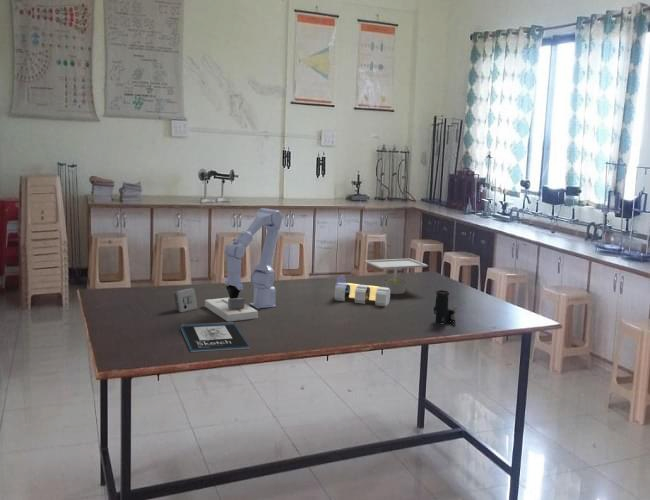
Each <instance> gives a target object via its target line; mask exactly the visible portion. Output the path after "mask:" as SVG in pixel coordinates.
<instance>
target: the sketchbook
mask: <svg viewBox="0 0 650 500" xmlns="http://www.w3.org/2000/svg"><path fill="white" fill-rule="evenodd" d="M180 330H181V332H182V334H183V337H184V339H185V341H186V344H187V346H188V348H189V350H190V352H191V353H194V352H195V353H199V352H214V351H216V352H217V351H228V350H229V351H231V350H232V351H233V350H246V349H250V348H251V346H250V344H249V343H248V341H247V340H246V339H245V337H244V336H243V334H242V333H241V331H240V329H239V328H238V327H237V325H236V324H235V322H233V321H229V322H221V323H219V322H217V323H216V322H215V323H214V322H211V323H210V322H209V323H193V324H186V323H182V325H180Z"/></svg>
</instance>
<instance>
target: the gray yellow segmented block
mask: <svg viewBox="0 0 650 500" xmlns="http://www.w3.org/2000/svg"><path fill="white" fill-rule="evenodd" d="M345 277H346V275H345V274H343V275H340V276H339V277H336V280H337V281H336V284H335V287H334V300H335V301H340V302H346V298H350V299H354V303H355V304H356V303H357V304H363V305H365V304H366V301H367V300H368V301H374V303H375V306H380V307H387V305H389V303H390V299H391V293H390V291H391V290H390V288H386V287H385V286H377V285H367V284H359V283H351V282H346V280H347V278H345Z"/></svg>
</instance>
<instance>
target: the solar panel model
mask: <svg viewBox="0 0 650 500" xmlns="http://www.w3.org/2000/svg"><path fill="white" fill-rule="evenodd" d="M363 262H364V263H366V264H368V265H371V267H372V266H373V267H375V268H378V269H380V270H390V269H391V270H392V269H393V278H387V279H385V280H384V287H386V288H390V290H391V291H390V295H391V294H393V295H400V294H401V295H402V294H404V293H405V292H406V281H405V280H404V279H400V278H399V279H398V278H397V273H398V269H411V268H426V267H427V268H428V267H429V265H428V264H426V263H423V262H421V261H419V260H415V259H413V258H393V259H392V258H389V259H387V258H386V259H366V260H363Z"/></svg>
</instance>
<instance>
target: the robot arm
mask: <svg viewBox="0 0 650 500" xmlns="http://www.w3.org/2000/svg"><path fill="white" fill-rule="evenodd" d="M282 220H283V215H282V213H281V210H278V209H271V208H264V207H261V208H259V209H258V211H256V213H255V218H254V219H253V221H252V222H251V224H250V225H249V227H247V229H246V230H245V231H244V230H243V231H241V232H240V233H239V235H238V236H237V237H236V238H235V240H234V241H233V242H232V243H229V244H228V245H227V246H226V248H225V249H224V253H225V256H226V260H227V277H225V278H224V284H225V285H226V286H225V288H226V290H227V293H228V298H239V294H240V292H241V291H243V290H244V285H243V284H242V283H243V282H242V258H243V257H244V255H245V253H246V250H247V248H248V246H249V245H250V244H252V241H253V240H254V238H253V236H255V234H257V232H258V231H259V230H260V229H261V228H262V227H263V226H264V228H265V229H266V234H265V238H264V243H263V247H262V251H261V254H260V255H261V256H260V260H259V264H258V265H256V266H254V267H253V271H252V272H251V274H250V283H252V286H253V302H249V304H250V306H251V307H253V308H256V309H264V308H274V307H276V306H277V305H276V294H277V292H276V291H277V290H276V287H275V286H274V283H275V274H276V273H275V269H273V268H272V265H273V259H274V255H275V252H276V246H277V243H278V237H279V235H280V234H279V233H280V231H281V230H280V229H281V225H282Z"/></svg>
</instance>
